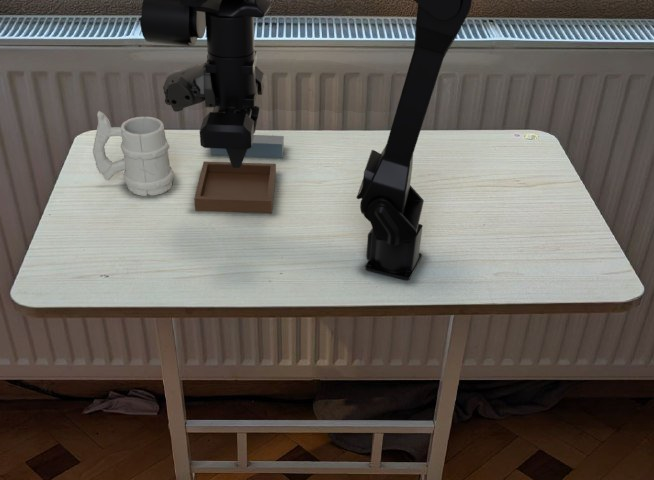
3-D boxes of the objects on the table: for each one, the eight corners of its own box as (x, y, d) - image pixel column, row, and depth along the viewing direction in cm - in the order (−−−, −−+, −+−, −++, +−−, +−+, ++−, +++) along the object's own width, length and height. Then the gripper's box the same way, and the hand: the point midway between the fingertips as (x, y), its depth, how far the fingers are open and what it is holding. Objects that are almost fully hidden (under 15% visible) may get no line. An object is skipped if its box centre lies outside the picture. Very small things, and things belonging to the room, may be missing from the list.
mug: (174, 196, 129) (165, 122, 120) (96, 198, 128) (82, 124, 119) (175, 172, 134) (167, 100, 126) (100, 174, 133) (88, 101, 125)
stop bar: (282, 158, 139) (282, 144, 137) (210, 155, 139) (209, 141, 137) (283, 149, 141) (283, 135, 139) (213, 146, 141) (212, 132, 139)
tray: (271, 213, 126) (271, 201, 125) (195, 210, 126) (194, 198, 124) (276, 175, 134) (275, 163, 133) (204, 173, 134) (203, 161, 133)
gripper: (177, 19, 108) (187, 132, 119) (150, 78, 94) (165, 200, 105) (262, 22, 108) (265, 135, 118) (248, 82, 94) (252, 204, 105)
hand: (236, 166), depth 112 cm, fingers closed
